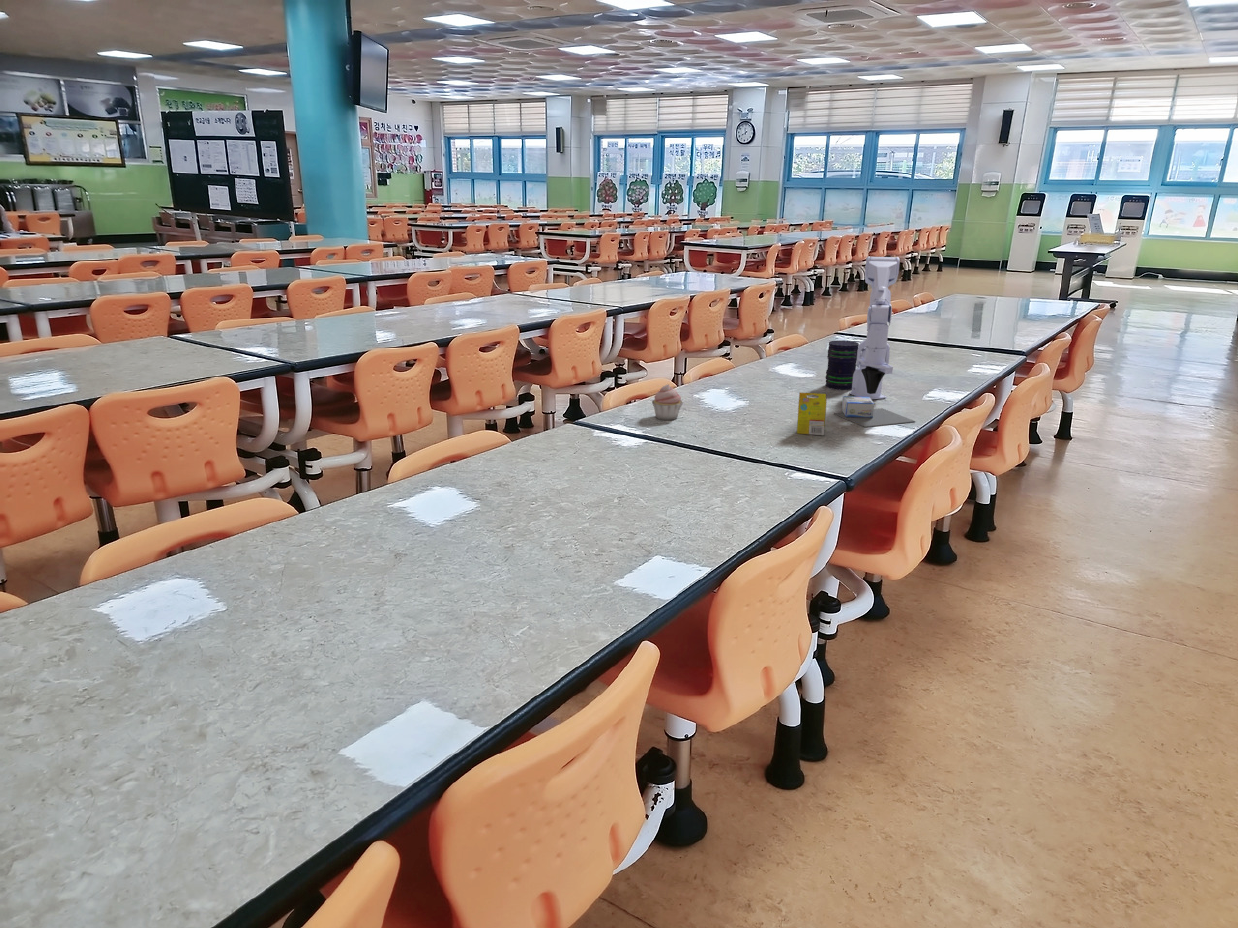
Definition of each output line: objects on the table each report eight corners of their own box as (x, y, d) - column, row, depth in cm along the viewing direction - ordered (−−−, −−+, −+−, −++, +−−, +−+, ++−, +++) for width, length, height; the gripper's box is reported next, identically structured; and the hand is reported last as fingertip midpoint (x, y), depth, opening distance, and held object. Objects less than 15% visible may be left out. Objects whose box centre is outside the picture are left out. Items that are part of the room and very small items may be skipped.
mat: (833, 413, 247) (833, 412, 247) (882, 409, 253) (882, 408, 253) (864, 427, 234) (864, 426, 233) (915, 422, 239) (915, 421, 239)
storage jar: (824, 389, 277) (828, 344, 272) (824, 382, 286) (828, 339, 281) (855, 391, 275) (859, 346, 270) (854, 384, 284) (858, 341, 279)
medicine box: (869, 396, 248) (875, 403, 240) (868, 410, 250) (873, 418, 242) (842, 395, 249) (847, 402, 241) (841, 410, 251) (845, 417, 242)
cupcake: (680, 422, 238) (681, 388, 235) (648, 420, 240) (649, 387, 237) (685, 414, 247) (685, 381, 244) (653, 412, 249) (654, 380, 246)
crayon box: (824, 433, 228) (827, 391, 225) (824, 435, 226) (827, 394, 222) (797, 430, 230) (800, 389, 227) (796, 433, 228) (799, 392, 224)
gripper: (849, 343, 244) (845, 388, 248) (879, 352, 231) (874, 400, 235) (870, 342, 246) (865, 387, 250) (900, 351, 233) (895, 398, 237)
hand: (871, 393), depth 243 cm, fingers closed
